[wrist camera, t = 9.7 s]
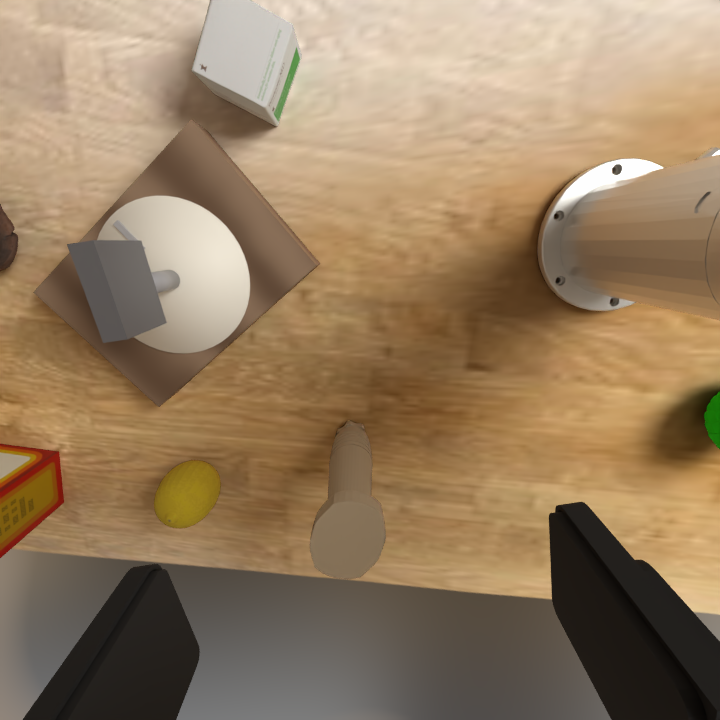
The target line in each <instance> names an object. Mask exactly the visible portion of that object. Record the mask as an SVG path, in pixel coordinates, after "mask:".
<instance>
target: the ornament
mask: <svg viewBox="0 0 720 720" xmlns="http://www.w3.org/2000/svg"><path fill="white" fill-rule="evenodd" d="M706 409H707V412H705V414H704V419H705V421H706V422H705V424H704V425H705V427H706V429H707V432H708V436H709V437H710V439H711V440H712V441H713V442H714V443H715V444H716V446H717V447H718V448H719V449H720V392H719V393H717V395H715V396H714V397H713V398H712V399H711V400H710V403H708V406H707V408H706Z"/></svg>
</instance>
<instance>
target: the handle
mask: <svg viewBox="0 0 720 720" xmlns="http://www.w3.org/2000/svg"><path fill="white" fill-rule="evenodd" d="M372 465H373V464H372V452H371V446H370V442H369V439H368V436H367V434H366V433H365V428H364V425H363V424H362V423H354V422H352V421H347V422H346V424H345V425H344V426H343V427H342V428H339V429H338V430H337V433H336V436H335V440H334V443H333V447H332V451H331V456H330V463H329V486H328V500H327V501H326V502H325V503H324V504H323V505H322V507H321V508H320V509H319V511H318V512H317V515H316V518H315V521H314V525H313V529H312V533H311V539H310V552H311V556H312V559H313V563H314V566H315V568H316V569H317V570H319V571H320V572H322V573H323V574H325V575H328V576H331V577H334V578H340V579H354V578H358V577H361V576H362V575H363V574H365V573H366V572H367V571H368V570H369V569H370V568H371V567H372V566H373V565H374V564H375V563H376V562H377V560H378V559H379V557H380V554H381V551H382V549H383V546H384V543H385V538H386V532H385V522H384V516H383V511H382V507H381V503H380V502H379V501H378V500H376V499H375V498H374V497H372V496H371V485H372Z"/></svg>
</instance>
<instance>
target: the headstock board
mask: <svg viewBox="0 0 720 720" xmlns="http://www.w3.org/2000/svg"><path fill="white" fill-rule="evenodd" d="M149 196H171V197H178V198H181V199H185V200H188V201H191V202H193V203H195V204H197V205H200V206H201V207H203V208H205V209H206V210H208V211H210V212H211V213H212V214H213V215H215V216H216V217H217V218H219V219H220V220H221V221H222V222H223V223H224V224H225V225H226V226H227V228H228V229H229V230H230V231H231V233H232V234H233V235H234V237H235V238H236V240H237V242H238V243H239V245H240V247H241V249H242V251H243V253H244V256H245V259H246V262H247V265H248V270H249V275H250V297H249V302H248V306H247V309H246V312H245V314H244V316H243V318H242V320H241V322H240V324H239V325H238V326H237V328H236V329H235V330H234V331H233V333H232V334H231V335H230V336H229V337H227V338H226V339H225V340H223V341H222V342H221V343H219V344H217V345H215V346H214V347H211V348H209V349H206V350H203V351H199V352H195V353H172V352H166V351H162V350H158V349H156V348H153V347H150V346H148V345H146V344H144V343H142V342H140V341H139V340H137V339H136V338H134V337H132V338H130V339H127V340H120V341H113V342H107V343H103V341H102V338H101V336H100V333H99V330H98V327H97V325H96V322H95V319H94V317H93V314H92V311H91V308H90V306H89V303H88V300H87V297H86V295H85V292H84V289H83V287H82V284H81V281H80V278H79V276H78V273H77V270H76V268H75V265H74V262H73V259H72V257H71V254H70V253H69V254H68V255H67V256H66V257H65V258H64V259H63V260H62V262H61V263H60V264H59V265H58V266H57V267H56V268H55V269H54V270H53V271H52V273H51V274H50V275H49V276H48V277H47V278H46V279H45V280H44V281H43V282H42V283H41V285H40V286H39V287H38V288H37V289H36V290H35V291H34V292H33V293H35V294H36V295H37V296H38V297H39V298H40V299H41V300H42V301H43V302H44V303H45V304H47V305H48V306H49V307H50V308H51V309H52V310H53V311H54V312H55V313H56V314H58V315H59V316H60V317H61V318H62V319H63V320H64V321H65V322H66V323H67V324H68V325H70V326H71V327H72V328H73V329H74V330H75V331H76V332H77V333H78V334H79V335H80V336H82V337H83V338H84V339H85V340H86V341H87V342H88V343H89V344H90V345H91V346H93V347H94V348H95V349H96V350H97V351H98V352H99V353H100V354H101V355H102V356H103V357H105V358H106V359H107V360H108V361H109V362H110V363H111V364H112V365H113V366H114V367H116V368H117V369H118V370H119V371H120V372H121V373H122V374H123V375H124V376H125V377H126V378H128V379H129V380H130V381H131V382H132V383H133V384H134V385H135V386H136V387H137V388H139V389H140V390H141V391H142V392H143V393H144V394H145V395H146V396H147V397H148V398H149V399H151V400H152V401H153V402H154V403H155V404H156V405H157V406H158V407H160V406H161V405H162V404H163V403H164V402H166V401H167V400H168V399H169V398H171V397H172V396H173V395H174V394H175V393H176V392H178V391H179V390H180V389H181V388H182V387H183V386H184V385H185V384H186V383H188V382H189V381H190V380H191V379H192V378H193V377H194V376H195V375H197V374H198V373H199V372H200V371H201V370H202V369H203V368H204V367H205V366H207V365H208V364H209V363H210V362H211V361H212V360H213V359H214V358H215V357H217V356H218V355H219V354H220V353H221V352H222V351H223V350H224V349H225V348H227V347H228V346H229V345H230V344H231V343H232V342H233V341H234V340H236V339H237V338H238V337H239V336H240V335H241V334H242V333H243V332H244V331H246V330H247V329H248V328H249V327H250V326H251V325H252V324H253V323H254V322H256V321H257V320H258V319H259V318H260V317H261V316H262V315H263V314H265V313H266V312H267V311H268V310H269V309H270V308H271V307H272V306H273V305H275V304H276V303H277V302H278V301H279V300H280V299H281V298H282V297H283V296H285V295H286V294H287V293H288V292H289V291H290V290H291V289H292V288H293V287H295V286H296V285H297V284H298V283H299V282H300V281H301V280H302V279H304V278H305V277H306V276H307V275H308V274H309V273H310V272H311V271H312V270H314V269H315V268H316V267H317V266H318V265H319V264H320V263H319V262H318V260H317V259H316V258H315V257H314V256H313V255H312V253H311V252H310V251H309V250H308V249H307V248H306V246H305V245H304V244H303V243H302V242H301V241H300V239H299V238H298V237H297V236H296V235H295V233H294V232H293V231H292V230H291V229H290V228H289V226H288V225H287V224H286V223H285V222H284V221H283V219H282V218H281V217H280V216H279V215H278V214H277V212H276V211H275V210H274V209H273V208H272V206H271V205H270V204H269V203H268V202H267V201H266V199H265V198H264V197H263V196H262V195H261V194H260V192H259V191H258V190H257V189H256V188H255V187H254V185H253V184H252V183H251V182H250V181H249V179H248V178H247V177H246V176H245V175H244V174H243V172H242V171H241V170H240V169H239V168H238V167H237V165H236V164H235V163H234V162H233V161H232V160H231V158H230V157H229V156H228V155H227V154H226V152H225V151H224V150H223V149H222V148H221V147H220V145H219V144H218V143H217V142H216V141H215V140H214V138H213V137H212V136H211V135H210V134H209V133H208V131H207V130H205V129H204V128H203V127H201V126H200V125H198V124H197V123H196V122H194V121H193V120H192V119H191V120H190V121H189V122H188V123H187V125H186V126H185V127H184V128H183V129H182V130H181V131H180V132H179V133H178V134H177V135H176V137H175V138H174V139H173V140H172V141H171V142H170V143H169V144H168V145H167V146H166V148H165V149H164V150H163V151H162V152H161V153H160V154H159V155H158V156H157V157H156V159H155V160H154V161H153V162H152V163H151V164H150V165H149V166H148V167H147V168H146V169H145V171H144V172H143V173H142V174H141V175H140V176H139V177H138V178H137V179H136V180H135V182H134V183H133V184H132V185H131V186H130V187H129V188H128V189H127V190H126V191H125V192H124V194H123V195H122V196H121V197H120V198H119V199H118V200H117V201H116V202H115V203H114V205H113V206H112V207H111V208H110V209H109V210H108V211H107V212H106V213H105V214H104V216H103V217H102V218H101V219H100V220H99V221H98V222H97V223H96V224H95V225H94V226H93V228H92V229H91V230H90V231H89V232H88V233H87V234H86V235H85V236H84V237H83V239H82V240H81V241H80V242H85V241H91V240H97V239H98V236H99V233H100V231H101V230H102V228H103V226H104V224H105V223H106V222H107V220H108V219H109V218H110V216H111V215H113V214H114V213H115V212H116V211H117V210H118V209H119V208H121V207H122V206H124V205H125V204H127V203H129V202H132V201H134V200H136V199H140V198H143V197H149Z"/></svg>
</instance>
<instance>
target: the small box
mask: <svg viewBox="0 0 720 720" xmlns="http://www.w3.org/2000/svg"><path fill="white" fill-rule="evenodd" d="M301 57H302V54H301V51H300V48H299V44H298V41H297V37H296V34H295V30H294V27H293V24H292V23H290V22H288V21H286V20H284V19H283V18H281V17H279V16H278V15H276V14H274V13H272V12H270V11H269V10H267V9H265V8H263V7H261V6H260V5H258V4H256V3H255V2H253V1H251V0H210V3H209V7H208V11H207V15H206V19H205V22H204V26H203V30H202V33H201V37H200V40H199V44H198V48H197V52H196V55H195V59H194V63H193V67H192V72H193V73H194V74H195V75H196V76H197V77H198V78H199V79H200V80H201V81H202V82H203V83H204V84H205V85H206V86H207V87H208V88H209V89H210V90H211V91H212V92H213V93H214V94H215V95H217V96H219V97H221V98H223V99H225V100H227V101H228V102H230V103H232V104H234V105H236V106H238V107H240V108H242V109H244V110H246V111H247V112H249V113H251V114H253V115H255V116H257V117H259V118H261V119H263V120H265V121H266V122H268V123H270V124H272V125H274V126H276V127H277V126H278V125H279V121H280V118H281V115H282V112H283V109H284V106H285V103H286V100H287V97H288V94H289V91H290V88H291V86H292V83H293V80H294V77H295V74H296V72H297V69H298V66H299V63H300V60H301Z"/></svg>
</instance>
